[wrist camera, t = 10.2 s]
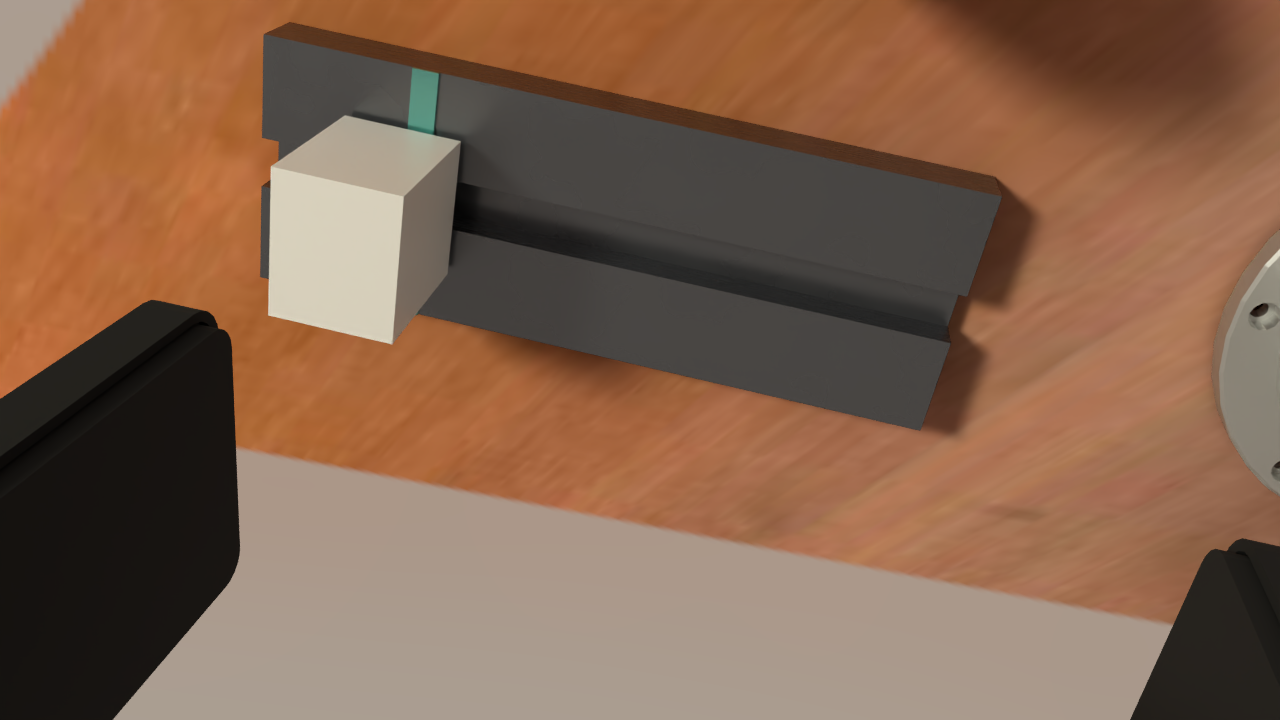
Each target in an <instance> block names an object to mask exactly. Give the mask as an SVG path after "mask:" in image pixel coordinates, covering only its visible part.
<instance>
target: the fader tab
mask: <svg viewBox="0 0 1280 720" xmlns="http://www.w3.org/2000/svg"><path fill="white" fill-rule="evenodd" d="M460 145H461V141H457V140H453V139H449V138H444V137H440V136H435V135H431V134H426V133H422V132H417V131H413V130H408V129H404V128H399V127H395V126H390V125H386V124H381V123H377V122H372V121H368V120H363V119H359V118H354V117H350V116H346V115H345V116H343V117H342V118H340V119H339V120H337V121H336V122H335V123H333V124H332V125H330V126H329V127H327V128H326V129H324V130H323V131H322V132H320V133H319V134H317V135H316V136H314V137H313V138H311V139H310V140H309V141H307V142H306V143H304V144H303V145H301V146H300V147H298V148H297V149H296V150H294V151H293V152H291V153H290V154H288V155H287V156H285V157H284V158H283V159H281V160H280V161H278V162H277V163H275V164H274V165H272V166H271V192H270V249H269V306H268V315H269V316H274V317H278V318H282V319H287V320H291V321H295V322H299V323H304V324H308V325H312V326H316V327H321V328H325V329H329V330H333V331H338V332H342V333H346V334H350V335H355V336H359V337H363V338H367V339H372V340H376V341H380V342H385V343H389V344H393V343H394V341H395V340H396V339H397V338H398V336H399V335H400V334H401V333H402V331H403V330H404V329H405V327H406V326H407V325H408V324H409V322H410V321H411V320H412V319H413V317H414V316H415V315H416V313H417V312H418V311H419V310H420V308H421V307H422V306H423V305H424V303H425V302H426V301H427V299H428V298H429V297H430V296H431V294H432V293H433V292H434V291H435V289H436V288H437V287H438V285H439V284H440V283H441V282H442V280H443V279H444V278H445V277H446V275H447V274H448V264H449V254H450V244H451V234H452V224H453V214H454V205H455V195H456V185H457V175H458V165H459V155H460Z"/></svg>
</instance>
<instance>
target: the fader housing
mask: <svg viewBox="0 0 1280 720" xmlns="http://www.w3.org/2000/svg"><path fill="white" fill-rule="evenodd" d="M345 115H346V116H350V117H354V118H359V119H363V120H368V121H372V122H377V123H381V124H386V125H390V126H395V127H399V128H404V129H408V130H413V131H417V132H422V133H426V134H431V135H435V136H440V137H444V138H449V139H453V140H457V141H461V145H460V155H459V165H458V175H457V185H456V195H455V205H454V214H453V224H452V234H451V244H450V254H449V264H448V274H447V275H446V277H445V278H444V279H443V280H442V282H441V283H440V284H439V285H438V287H437V288H436V289H435V291H434V292H433V293H432V294H431V296H430V297H429V298H428V299H427V301H426V302H425V303H424V305H423V306H422V307H421V308H420V310H419V311H418V312H417V313H416V315H418V314H421V315H425V316H430V317H434V318H438V319H443V320H447V321H451V322H455V323H460V324H464V325H468V326H473V327H477V328H481V329H486V330H490V331H494V332H498V333H503V334H507V335H511V336H516V337H520V338H524V339H528V340H533V341H537V342H541V343H546V344H550V345H554V346H559V347H563V348H567V349H571V350H576V351H580V352H584V353H589V354H593V355H597V356H602V357H606V358H610V359H614V360H619V361H623V362H627V363H632V364H636V365H640V366H644V367H649V368H653V369H657V370H662V371H666V372H670V373H675V374H679V375H683V376H687V377H692V378H696V379H700V380H705V381H709V382H713V383H717V384H722V385H726V386H730V387H735V388H739V389H743V390H748V391H752V392H756V393H760V394H765V395H769V396H773V397H778V398H782V399H786V400H790V401H795V402H799V403H803V404H808V405H812V406H816V407H821V408H825V409H829V410H833V411H838V412H842V413H846V414H851V415H855V416H859V417H863V418H868V419H872V420H876V421H881V422H885V423H889V424H894V425H898V426H902V427H906V428H911V429H915V430H919V431H920V430H921V427H922V424H923V422H924V419H925V416H926V413H927V410H928V407H929V404H930V401H931V399H932V396H933V393H934V390H935V387H936V384H937V381H938V379H939V376H940V373H941V370H942V367H943V364H944V361H945V359H946V356H947V353H948V350H949V347H950V344H951V342H950V336H949V331H948V324H949V321H950V318H951V315H952V312H953V309H954V307H955V304H956V301H957V298H958V295H962V296H966V297H967V296H968V293H969V290H970V287H971V284H972V281H973V279H974V276H975V273H976V270H977V267H978V264H979V261H980V259H981V256H982V253H983V250H984V247H985V244H986V241H987V239H988V236H989V233H990V230H991V227H992V224H993V221H994V219H995V216H996V213H997V210H998V207H999V204H1000V201H1001V199H1002V195H1001V192H1000V190H999V187H998V184H997V182H996V179H995V177H993V176H989V175H984V174H980V173H975V172H971V171H966V170H961V169H957V168H952V167H948V166H943V165H939V164H934V163H929V162H925V161H920V160H916V159H911V158H907V157H902V156H898V155H893V154H888V153H884V152H879V151H875V150H870V149H866V148H861V147H856V146H852V145H847V144H843V143H838V142H834V141H829V140H825V139H820V138H815V137H811V136H806V135H802V134H797V133H793V132H788V131H783V130H779V129H774V128H770V127H765V126H761V125H756V124H752V123H747V122H742V121H738V120H733V119H729V118H724V117H720V116H715V115H710V114H706V113H701V112H697V111H692V110H688V109H683V108H679V107H674V106H669V105H665V104H660V103H656V102H651V101H647V100H642V99H637V98H633V97H628V96H624V95H619V94H615V93H610V92H606V91H601V90H596V89H592V88H587V87H583V86H578V85H574V84H569V83H564V82H560V81H555V80H551V79H546V78H542V77H537V76H533V75H528V74H523V73H519V72H514V71H510V70H505V69H501V68H496V67H491V66H487V65H482V64H478V63H473V62H469V61H464V60H460V59H455V58H450V57H446V56H441V55H437V54H432V53H428V52H423V51H418V50H414V49H409V48H405V47H400V46H396V45H391V44H386V43H382V42H377V41H373V40H368V39H364V38H359V37H355V36H350V35H345V34H341V33H336V32H332V31H327V30H323V29H318V28H313V27H309V26H304V25H300V24H295V23H291V22H289V23H287V24H285V25H283V26H281V27H278V28H276V29H274V30H272V31H269V32H267V33H265V34H264V46H263V120H262V138H266V139H270V140H275V141H279V161H280V160H281V159H283V158H284V157H285V156H287V155H288V154H290V153H291V152H293V151H294V150H296V149H297V148H298V147H300V146H301V145H303V144H304V143H306V142H307V141H309V140H310V139H311V138H313V137H314V136H316V135H317V134H319V133H320V132H322V131H323V130H324V129H326V128H327V127H329V126H330V125H332V124H333V123H335V122H336V121H337V120H339V119H340V118H342V117H343V116H345ZM270 192H271V180H270V181H268V182H267V183H265V184H264V185H263V186H262V195H261V269H260V277H262V278H267V279H269V249H270Z"/></svg>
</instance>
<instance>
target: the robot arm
mask: <svg viewBox="0 0 1280 720" xmlns="http://www.w3.org/2000/svg"><path fill="white" fill-rule="evenodd" d="M1262 303H1263V305H1262V307H1261V308H1260V309H1258V310H1255V311H1252V310H1253V308H1254V307H1256V306H1258V305H1260V304H1262ZM1211 378H1212V384H1213V390H1214V396H1215V402H1216V408H1217V411H1218V413H1219V416H1220V418H1221V420H1222V423H1223V425H1224V427H1225V430H1226V432H1227V434H1228V436H1229V439H1230V440H1231V442H1232V443H1233V445H1234V447H1235V448H1236V450H1237V451H1238V453H1239V454H1240V456H1241V457H1242V459H1243V461H1244V462H1245V464H1246V466H1247V467H1248V468H1249V469H1250V470H1251V471H1252V472H1253V473H1254V475H1255V476H1256V477H1257V478H1258V479H1259V480H1260V481H1261V482H1262V483H1263V484H1264V485H1265V486H1266V487H1267V488H1268V489H1269V490H1271V491H1272V492H1274V493H1275V494H1277V495H1278V496H1280V229H1279V230H1278V231H1277V232H1276V233H1275V234H1274V235H1273V236H1272V237H1271V238H1270V239H1269V240H1268V241H1267V242H1266V244H1265V245H1264V246H1263V247H1262V249H1261V250H1260V251H1259V252H1258V254H1257V255H1256V256H1255V258H1254V259H1253V260H1252V261H1251V263H1250V264H1249V265H1248V266H1247V268H1246V269H1245V270H1244V271H1243V273H1242V275H1241V277H1240V279H1239V281H1238V282H1237V284H1236V286H1235V288H1234V290H1233V292H1232V294H1231V295H1230V297H1229V299H1228V301H1227V303H1226V305H1225V307H1224V310H1223V313H1222V316H1221V320H1220V323H1219V326H1218V330H1217V333H1216V336H1215V340H1214V345H1213V359H1212V373H1211ZM238 514H239V513H238V489H237V465H236V439H235V415H234V390H233V366H232V346H231V339H230V337H229V335H228V333H227V332H226V331H225V330H222V329H218V326H217V323H216V320H215V318H214V316H213V315H211V314H210V313H209V312H207V311H203V310H198V309H194V308H189V307H184V306H180V305H175V304H171V303H166V302H162V301H156V300H150V301H148V302H145V303H143V304H142V305H140V306H139V307H137V308H136V309H134V310H133V311H131V312H130V313H128V314H127V315H125V316H124V317H122V318H121V319H119V320H118V321H116V322H115V323H113V324H112V325H110V326H109V327H107V328H106V329H104V330H103V331H101V332H100V333H98V334H97V335H95V336H94V337H92V338H91V339H89V340H88V341H86V342H85V343H83V344H82V345H80V346H79V347H77V348H76V349H74V350H73V351H71V352H70V353H68V354H67V355H65V356H64V357H62V358H61V359H59V360H58V361H56V362H55V363H53V364H52V365H50V366H49V367H47V368H46V369H44V370H43V371H41V372H40V373H38V374H37V375H35V376H34V377H32V378H31V379H29V380H28V381H26V382H25V383H23V384H22V385H20V386H19V387H17V388H16V389H15V390H13V391H12V392H10V393H9V394H7V395H6V396H4V397H3V398H1V399H0V720H113V719H114V717H115V716H116V715H117V714H118V713H119V712H120V710H121V709H122V708H123V707H124V706H125V705H126V703H127V702H128V701H129V700H130V699H131V697H132V696H133V695H134V694H135V693H136V692H137V690H138V689H139V688H140V687H141V686H142V685H143V683H144V682H145V681H146V680H147V679H148V677H149V676H150V675H151V674H152V673H153V672H154V670H155V669H156V668H157V667H158V666H159V665H160V663H161V662H162V661H163V660H164V659H165V658H166V656H167V655H168V654H169V653H170V651H172V649H173V648H174V647H175V646H176V645H177V643H178V642H179V641H180V640H181V639H182V638H183V636H184V635H185V634H186V633H187V632H188V631H189V629H190V628H191V627H192V626H193V625H194V623H195V622H196V621H197V620H198V619H199V618H200V617H201V615H202V614H203V613H204V612H205V611H206V609H207V608H208V607H209V606H210V605H211V604H212V602H213V601H214V600H215V599H216V598H217V597H218V595H219V594H220V593H221V592H222V591H223V589H224V588H225V587H226V586H227V584H228V583H229V582H230V580H231V578H232V576H233V574H234V572H235V569H236V566H237V563H238V559H239V553H240V539H239V516H238ZM1130 720H1280V547H1279V546H1275V545H1270V544H1266V543H1261V542H1256V541H1252V540H1247V539H1243V538H1242V539H1240V540H1237V541H1235V542H1234V543H1233V544H1232V545H1231V546H1230V547H1229V549H1228V550H1227V551H1222V550H1218V549H1214V550H1211V551H1210V552H1209V553H1208V554H1207V555H1206V556H1205V558H1204V560H1203V562H1202V563H1201V566H1200V568H1199V570H1198V572H1197V574H1196V577H1195V579H1194V581H1193V583H1192V585H1191V588H1190V590H1189V592H1188V594H1187V596H1186V598H1185V601H1184V603H1183V605H1182V607H1181V609H1180V612H1179V614H1178V616H1177V618H1176V620H1175V623H1174V625H1173V627H1172V629H1171V631H1170V634H1169V636H1168V638H1167V640H1166V642H1165V645H1164V647H1163V649H1162V651H1161V654H1160V656H1159V658H1158V660H1157V662H1156V664H1155V666H1154V669H1153V671H1152V673H1151V675H1150V677H1149V680H1148V682H1147V684H1146V686H1145V689H1144V691H1143V693H1142V695H1141V697H1140V699H1139V702H1138V704H1137V706H1136V708H1135V710H1134V713H1133V715H1132V717H1131V719H1130Z"/></svg>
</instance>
